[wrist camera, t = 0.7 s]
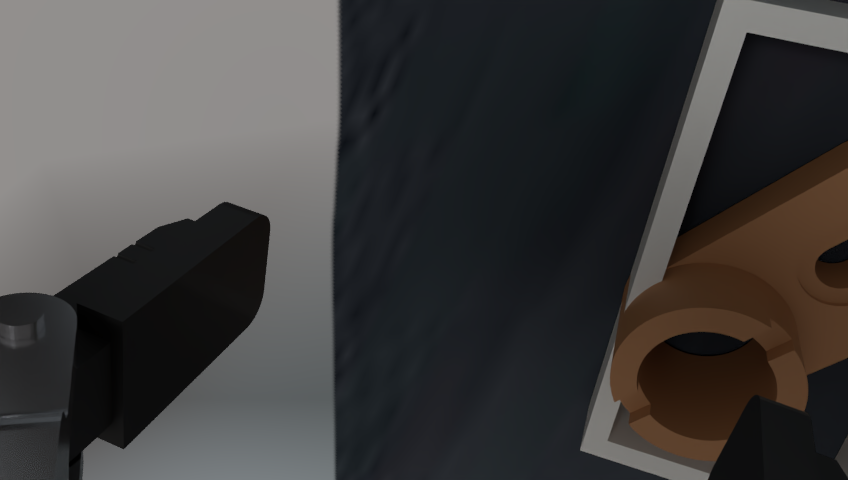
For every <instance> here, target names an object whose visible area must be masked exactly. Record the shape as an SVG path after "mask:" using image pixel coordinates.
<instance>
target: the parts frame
mask: <svg viewBox="0 0 848 480" xmlns="http://www.w3.org/2000/svg"><path fill="white" fill-rule="evenodd" d="M747 32H748V33H753V34H758V35H763V36H768V37H772V38H777V39H782V40H787V41H792V42H797V43H802V44H807V45H812V46H817V47H822V48H827V49H832V50H837V51H842V52H847V53H848V4H846V3H841V2H836V1H830V0H717V1H716V4H715V8H714V11H713V14H712V17H711V20H710V23H709V27H708V30H707V33H706V36H705V39H704V42H703V46H702V49H701V52H700V55H699V58H698V62H697V65H696V68H695V71H694V74H693V77H692V81H691V84H690V87H689V90H688V93H687V96H686V100H685V103H684V106H683V109H682V112H681V115H680V119H679V122H678V125H677V128H676V131H675V134H674V138H673V141H672V144H671V147H670V150H669V154H668V157H667V160H666V163H665V166H664V169H663V173H662V176H661V179H660V182H659V185H658V188H657V192H656V195H655V198H654V201H653V204H652V207H651V211H650V214H649V217H648V220H647V223H646V226H645V230H644V233H643V236H642V239H641V242H640V246H639V249H638V252H637V255H636V258H635V261H634V265H633V268H632V271H631V274H630V275H631V276H630V281H629V287H628V293H627V299H626V304H625V310H626V309H627V307H628V306H629V305H630V304H631V302H632V301H633V300H634V299H635V298H636V297H637V296H638V295H640V294H641V293H642V292H643V291H645V290H646V289H648V288H649V287H651V286H653V285H655V284H657V283H659V282H661V281H662V279H663V276H664V274H665V271H666V268H667V265H668V262H669V259H670V256H671V253H672V250H673V247H674V244H675V241H676V238H677V235H678V232H679V229H680V227H681V224H682V221H683V218H684V215H685V212H686V209H687V206H688V203H689V200H690V197H691V194H692V191H693V188H694V185H695V183H696V180H697V177H698V174H699V171H700V168H701V165H702V162H703V159H704V156H705V153H706V150H707V147H708V144H709V141H710V138H711V136H712V133H713V130H714V127H715V124H716V121H717V118H718V115H719V112H720V109H721V106H722V103H723V100H724V97H725V94H726V92H727V89H728V86H729V83H730V80H731V77H732V74H733V71H734V68H735V65H736V62H737V59H738V56H739V53H740V50H741V48H742V45H743V42H744V39H745V36H746V33H747ZM621 304H622V303H621ZM620 310H621V306H620V309H619V312H618V315H617V318H616V322H615V325H614V328H613V331H612V334H611V338H610V341H609V344H608V347H607V350H606V353H605V357H604V360H603V363H602V366H601V369H600V372H599V376H598V379H597V382H596V385H595V388H594V391H593V395H592V398H591V401H590V404H589V409H588V413H587V418H586V423H585V428H584V433H583V438H582V443H581V448H580V450H581V451H584V452H587V453H590V454H593V455H596V456H599V457H602V458H605V459H609V460H612V461H615V462H618V463H621V464H624V465H627V466H630V467H633V468H636V469H639V470H642V471H646V472H649V473H652V474H655V475H658V476H661V477H664V478H667V479H670V480H708V478H709V475H710V473H711V470H712V468H713V466H714V464H715V462H716V461H702V460H695V459H690V458H685V457H681V456H678V455H675V454H672V453H670V452H667V451H665V450H662V449H660V448H658V447H656V446H655V445H653V444H651V443H650V442H648V441H647V440H645V439H644V438H642V437H641V436H640V435H639V434H638V433H636V432H635V431H634V430H633V429H632V428H631V426H630V425H629V417H630V413H629V411H628V410H627V409H626V408H625V407H624V406H623V404H622V402H621V401H620V400H618V401H616V402H614V400H613V396H612V393H611V387H610V370H611V364H612V358H613V352H614V346H615V340H616V334H617V328H618V322H619V316H620ZM625 310H624V312H625ZM834 460H837V461H838V463H839V465H840V466H841V468H842V469H843V471H844V472H845V474H846V475H847V477H848V435H847V437H846V439H845V441H844V443H843V445H842V446H841V448H840V450H839V452H838V454H837V456H836V457H835V459H834Z"/></svg>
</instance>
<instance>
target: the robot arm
mask: <svg viewBox="0 0 848 480" xmlns="http://www.w3.org/2000/svg"><path fill="white" fill-rule="evenodd" d="M269 236H270V222H269V219H268V217H267V216H264V215H262V214H259V213H256V212H254V211H251V210H248V209H245V208H242V207H239V206H237V205H234V204H231V203H228V202H224V203H221V204H219V205H218V206H216V207H215V208H214V209H212V210H211V211H209V212H208V213H206V214H205V215H203V216H202V217H201V218H199V219H198V220H196V221H193V220H190V219H185V220H181V221H178V222H174V223H171V224H167V225H164V226H160V227H158V228H156V229H155V230H153V231H152V232H150V233H148V234H147V235H145V236H144V237H142V238H141V239H139V240H138V241H136V244H135V245H130V246H129V247H127V248H126V249H124V250H123V251H121V252H120V253H118V256H117V257H112V258H110V259H109V260H107V261H106V262H105V263H103V264H101V265H100V266H98V267H97V268H95V269H94V270H92V271H91V272H89V273H88V274H86V275H84V276H83V277H81V278H80V279H78V280H77V281H75V282H74V283H72V284H71V285H69V286H68V287H66V288H65V289H63V290H62V291H60V292H59V293H57V294H55V295H54V296H51V295H47V294H40V293H16V294H9V295H5V296H1V297H0V480H82V476H83V450H84V449H85V448H86V447H87V446H88V445H89V444H90V443H91V442H92V441H93V440H94V439H96V438H97V437H98V438H100V439H102V440H105V441H107V442H109V443H111V444H113V445H116V446H118V447H120V448H122V449H124V448H125V447H126V446H127V445H128V444H129V443H131V441H133V439H135V438H136V437H137V436H138V435H139V434H140V433H141V431H143V430H144V429H145V427H147V426H148V425H149V424H150V423H151V421H153V420H154V419H155V418H156V417H157V416H158V415H159V414H160V413H161V412H162V411H163V410H164V409H165V408H166V407H167V406H168V405H169V404H170V403H171V402H172V401H173V400H174V399H175V398H176V397H177V396H178V395H179V394H180V393H181V392H182V391H183V390H184V389H185V388H186V387H187V386H188V385H189V384H190V383H191V382H192V381H193V380H194V379H195V378H196V377H197V376H198V375H200V374H201V372H202V371H204V369H206V368H207V367H208V366H209V365H210V364H211V363H212V362H213V361H214V360H215V359H216V358H217V357H218V356H219V355H220V354H221V353H222V352H223V351H224V350H225V349H226V348H227V347H228V346H229V345H230V344H231V343H232V342H233V341H234V340H235V339H236V338H237V337H238V336H239V335H240V334H241V333H242V332H243V331H244V330H245V329H246V328H247V327H248V326H249V325H250V323H251V322H252V321H253V319H254V318H255V315H256V314H257V312H258V309H259V307H260V304H261V301H262V298H263V293H264V284H265V275H266V265H267V255H268V245H269ZM708 480H848V477H847V475H846V474H845V472H844V471H843V469H842V468H841V466H840V465H839V463H838V461H837V460H834V459H832V458H829V457H826V456H824V455H821V454H818V453H816V451H815V444H814V437H813V430H812V423H811V418H810V415H809V414H808V413H807V412H804V411H801V410H798V409H795V408H793V407H790V406H787V405H784V404H782V403H779V402H776V401H773V400H771V399H768V398H765V397H762V396H759V395H754V396H753V397H752V398H751V399H750V400H749V401H748V403H747V405H746V406H745V408H744V410H743V412H742V414H741V416H740V417H739V419H738V421H737V423H736V425H735V427H734V429H733V431H732V432H731V434H730V436H729V438H728V440H727V442H726V444H725V446H724V447H723V449H722V451H721V453H720V455H719V457H718V459H717V460H716V462H715V464H714V466H713V468H712V470H711V473H710V475H709V478H708Z"/></svg>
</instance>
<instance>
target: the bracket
mask: <svg viewBox="0 0 848 480" xmlns="http://www.w3.org/2000/svg"><path fill="white" fill-rule="evenodd" d="M846 240H848V141H846V142H844V143H842V144H841V145H839V146H837V147H835V148H834V149H832V150H830V151H828V152H827V153H825V154H823V155H821V156H820V157H818V158H816V159H814V160H813V161H811V162H809V163H807V164H806V165H804V166H802V167H800V168H799V169H797V170H795V171H793V172H792V173H790V174H788V175H786V176H785V177H783V178H781V179H779V180H778V181H776V182H774V183H772V184H770V185H769V186H767V187H765V188H763V189H762V190H760V191H758V192H756V193H755V194H753V195H751V196H749V197H748V198H746V199H744V200H742V201H741V202H739V203H737V204H735V205H734V206H732V207H730V208H728V209H727V210H725V211H723V212H721V213H720V214H718V215H716V216H714V217H713V218H711V219H709V220H707V221H706V222H704V223H702V224H700V225H699V226H697V227H695V228H693V229H692V230H690V231H688V232H686V233H685V234H683V235H681V236H679V237H678V238H676V241H675V244H674V247H673V250H672V253H671V256H670V259H669V262H668V265H667V268H666V271H665V274H664V276H663V279H662V281H661V282H659V283H657V284H655V285H653V286H651V287H649V288H648V289H646V290H645V291H643V292H642V293H641V294H640V295H638V296H637V297H636V298H635V299H634V300H633V301H632V302H631V304H630V305H629V306H628V307H627V309H626V310H625V304H626V299H627V293H628V287H629V281H630V276H631V275H630V276H629V278H628V280H627V283H626V285H625V288H624V293H623V298H622V304H621V310H620V316H619V322H618V328H617V334H616V340H615V346H614V352H613V358H612V364H611V370H610V387H611V393H612V396H613V400H614V402H616V401H618V400H620V401H621V402H622V404H623V406H624V407H625V408H626V409H627V410H628V411H629V413H630V417H629V425H630V426H631V428H632V429H633V430H634V431H635V432H636V433H638V434H639V435H640V436H641V437H642V438H644V439H645V440H647V441H648V442H650V443H651V444H653V445H655V446H656V447H658V448H660V449H662V450H665V451H667V452H670V453H672V454H675V455H678V456H681V457H685V458H690V459H695V460H702V461H716V460H717V459H718V457H719V455H720V453H721V451H722V449H723V447H724V446H725V444H726V442H727V440H728V438H729V436H730V434H731V432H732V431H733V429H734V427H735V425H736V423H737V421H738V419H739V417H740V416H741V414H742V412H743V410H744V408H745V406H746V405H747V403H748V401H749V400H750V399H751V398H752V397H753V396H754V395H759V396H762V397H765V398H768V399H771V400H773V401H776V402H779V403H782V404H784V405H787V406H790V407H793V408H795V409H798V410H801V411H804V410H805V408H806V404H807V399H808V381H807V376H806V375H808V374H811V373H813V372H816V371H818V370H820V369H823V368H825V367H827V366H830V365H832V364H834V363H837V362H839V361H841V360H844V359H846V358H848V260H846V261H843V262H840V263H825V262H822V261H819V260H817V259H818V258H819V256H820V255H821V254H822V253H823V252H825V251H826V250H828V249H830V248H832V247H834V246H836V245H838V244H840V243H842V242H844V241H846ZM624 310H625V312H624ZM690 332H714V333H720V334H724V335H728V336H731V337H734V338H737V339H739V340H741V341H743V342H744V341H746V340H748V339H751V338H753V339H752V340H751V341H750V342H749V343H747V344H746V345H745V346H743V347H741V348H740V349H737V350H735V351H733V352H730V353H727V354H723V355H718V356H697V355H691V354H687V353H684V352H681V351H679V350H677V349H675V348H673V347H671V346H669V345H668V344H666V343H665V342H664V341H665V340H667V339H669V338H671V337H674V336H677V335H680V334H684V333H690Z"/></svg>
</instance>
